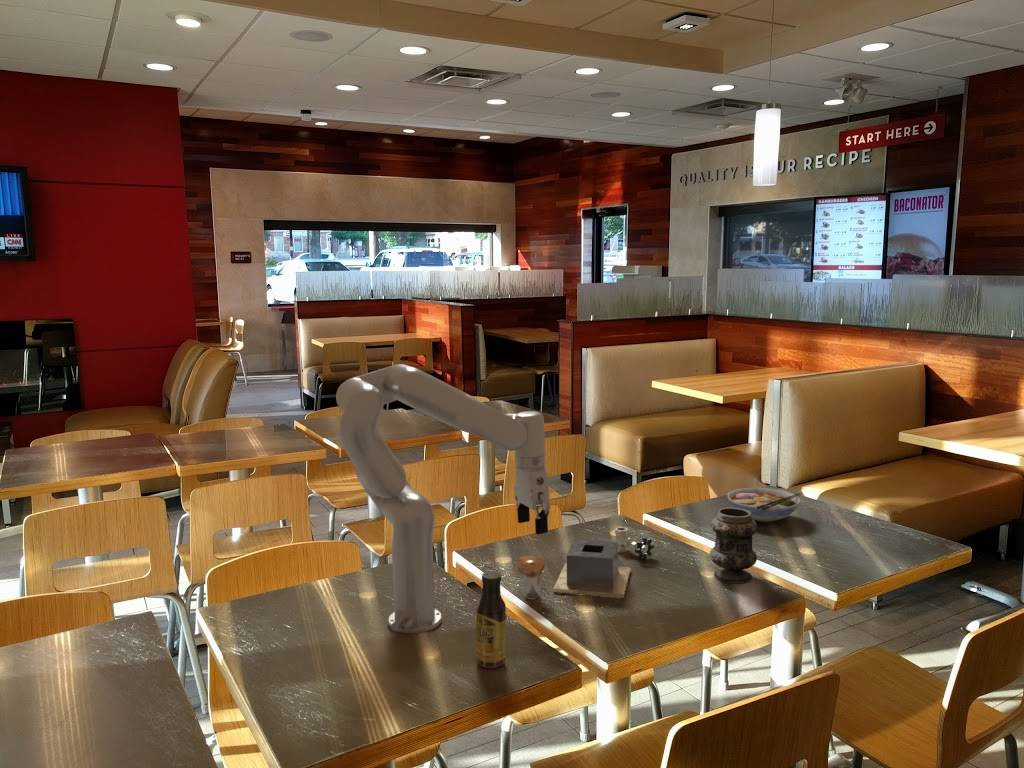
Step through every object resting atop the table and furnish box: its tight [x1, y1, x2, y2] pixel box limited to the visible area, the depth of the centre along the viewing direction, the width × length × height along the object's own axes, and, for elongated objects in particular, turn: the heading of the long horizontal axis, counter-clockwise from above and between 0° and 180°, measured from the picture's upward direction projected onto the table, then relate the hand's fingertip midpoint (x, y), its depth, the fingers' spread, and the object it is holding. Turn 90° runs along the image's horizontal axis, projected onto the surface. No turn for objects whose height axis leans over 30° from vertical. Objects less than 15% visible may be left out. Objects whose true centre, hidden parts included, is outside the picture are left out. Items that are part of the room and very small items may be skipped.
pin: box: [517, 554, 546, 599], centre depth 199 cm, size 7×7×10 cm
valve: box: [613, 526, 655, 561], centre depth 227 cm, size 7×7×12 cm
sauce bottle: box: [475, 570, 507, 670], centre depth 164 cm, size 7×6×20 cm
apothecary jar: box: [709, 507, 758, 584], centre depth 208 cm, size 12×12×18 cm
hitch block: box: [552, 539, 631, 599], centre depth 207 cm, size 18×18×9 cm
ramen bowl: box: [727, 487, 803, 523], centre depth 255 cm, size 25×23×8 cm
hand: (532, 527), depth 197 cm, fingers open, 9 cm apart
